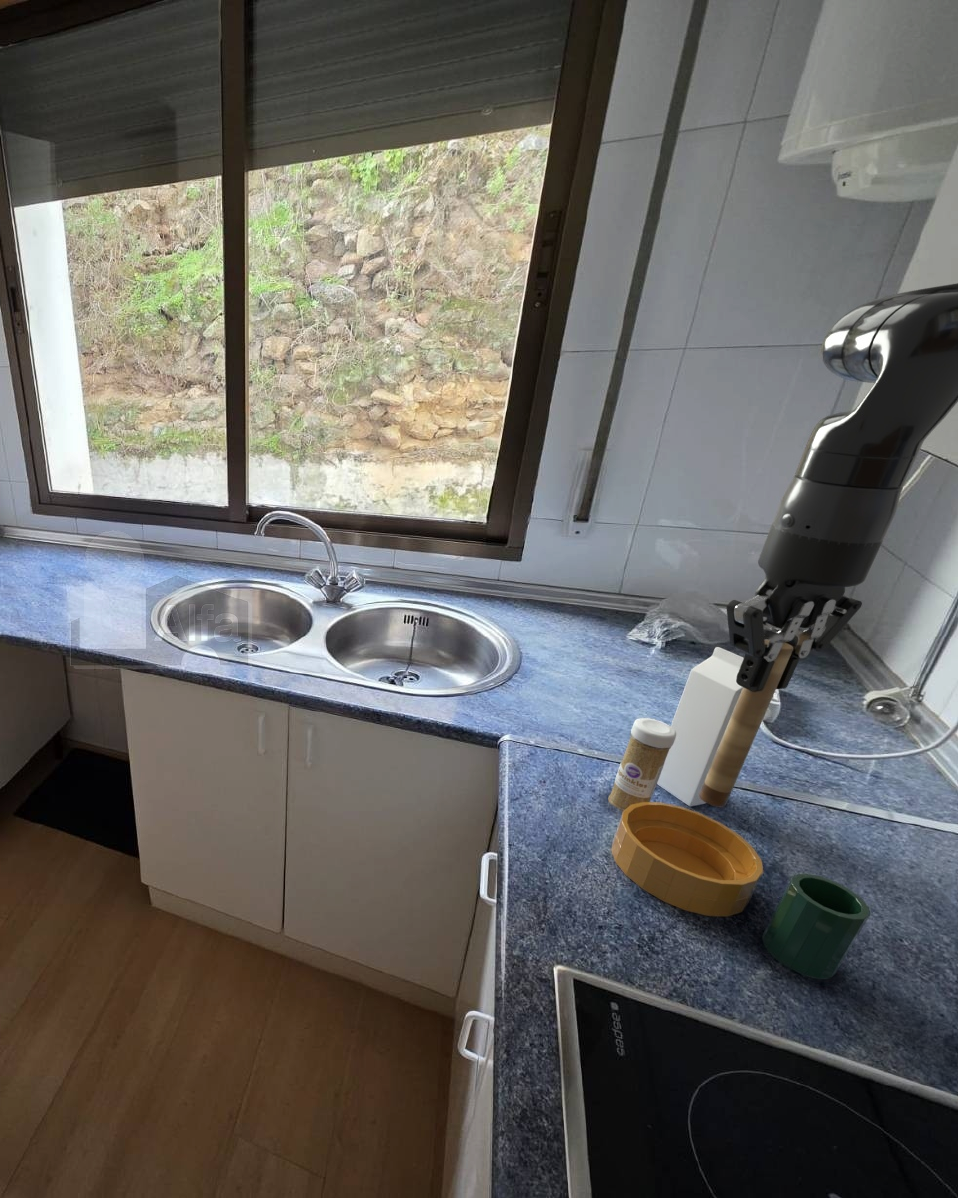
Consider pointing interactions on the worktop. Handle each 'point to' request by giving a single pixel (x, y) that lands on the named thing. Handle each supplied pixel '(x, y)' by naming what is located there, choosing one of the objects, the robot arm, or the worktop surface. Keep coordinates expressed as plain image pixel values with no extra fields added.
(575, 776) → the worktop surface
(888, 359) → the robot arm
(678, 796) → the milk
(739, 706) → the stick
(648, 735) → the sprinkles bottle
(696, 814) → the bowl
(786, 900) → the utensil pot
